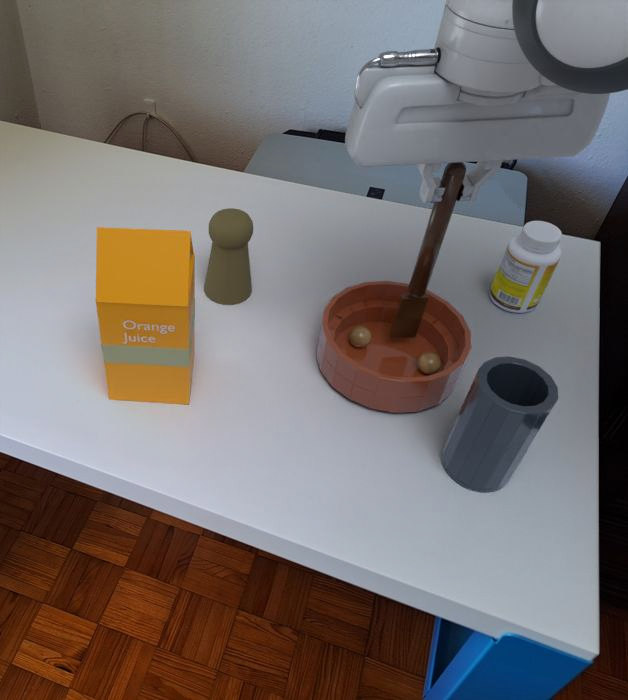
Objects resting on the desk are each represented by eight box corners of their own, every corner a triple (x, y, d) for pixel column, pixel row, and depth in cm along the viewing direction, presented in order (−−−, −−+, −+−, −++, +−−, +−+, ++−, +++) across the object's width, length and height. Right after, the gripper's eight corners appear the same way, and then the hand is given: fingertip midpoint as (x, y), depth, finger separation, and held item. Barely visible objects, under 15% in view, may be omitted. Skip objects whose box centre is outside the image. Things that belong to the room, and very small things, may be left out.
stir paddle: (412, 329, 76) (470, 155, 61) (417, 341, 75) (477, 166, 59) (387, 331, 76) (439, 156, 61) (391, 342, 75) (445, 167, 59)
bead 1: (366, 336, 79) (369, 321, 77) (371, 351, 77) (375, 336, 75) (345, 337, 79) (348, 322, 77) (350, 352, 77) (353, 337, 75)
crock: (495, 436, 69) (538, 354, 60) (521, 490, 65) (572, 410, 56) (432, 439, 69) (466, 358, 60) (454, 494, 65) (494, 415, 56)
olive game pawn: (217, 267, 89) (219, 195, 81) (260, 282, 87) (266, 209, 79) (195, 295, 85) (195, 222, 77) (238, 311, 83) (243, 237, 75)
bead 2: (418, 370, 76) (439, 361, 75) (425, 381, 74) (447, 372, 73) (411, 354, 75) (432, 344, 74) (417, 364, 73) (439, 355, 72)
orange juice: (119, 348, 79) (102, 202, 65) (195, 353, 78) (195, 206, 64) (108, 400, 74) (87, 254, 59) (189, 406, 73) (188, 258, 59)
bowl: (430, 312, 82) (442, 277, 78) (477, 411, 71) (494, 376, 67) (304, 319, 82) (309, 284, 78) (332, 420, 71) (340, 385, 67)
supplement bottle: (529, 285, 85) (561, 216, 77) (542, 316, 81) (577, 246, 73) (482, 283, 85) (510, 215, 78) (493, 314, 81) (523, 245, 74)
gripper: (372, 71, 50) (342, 225, 60) (646, 57, 51) (570, 212, 61) (351, 36, 55) (326, 185, 65) (603, 23, 55) (540, 174, 65)
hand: (446, 198), depth 63 cm, fingers closed on stir paddle, 2 cm apart
